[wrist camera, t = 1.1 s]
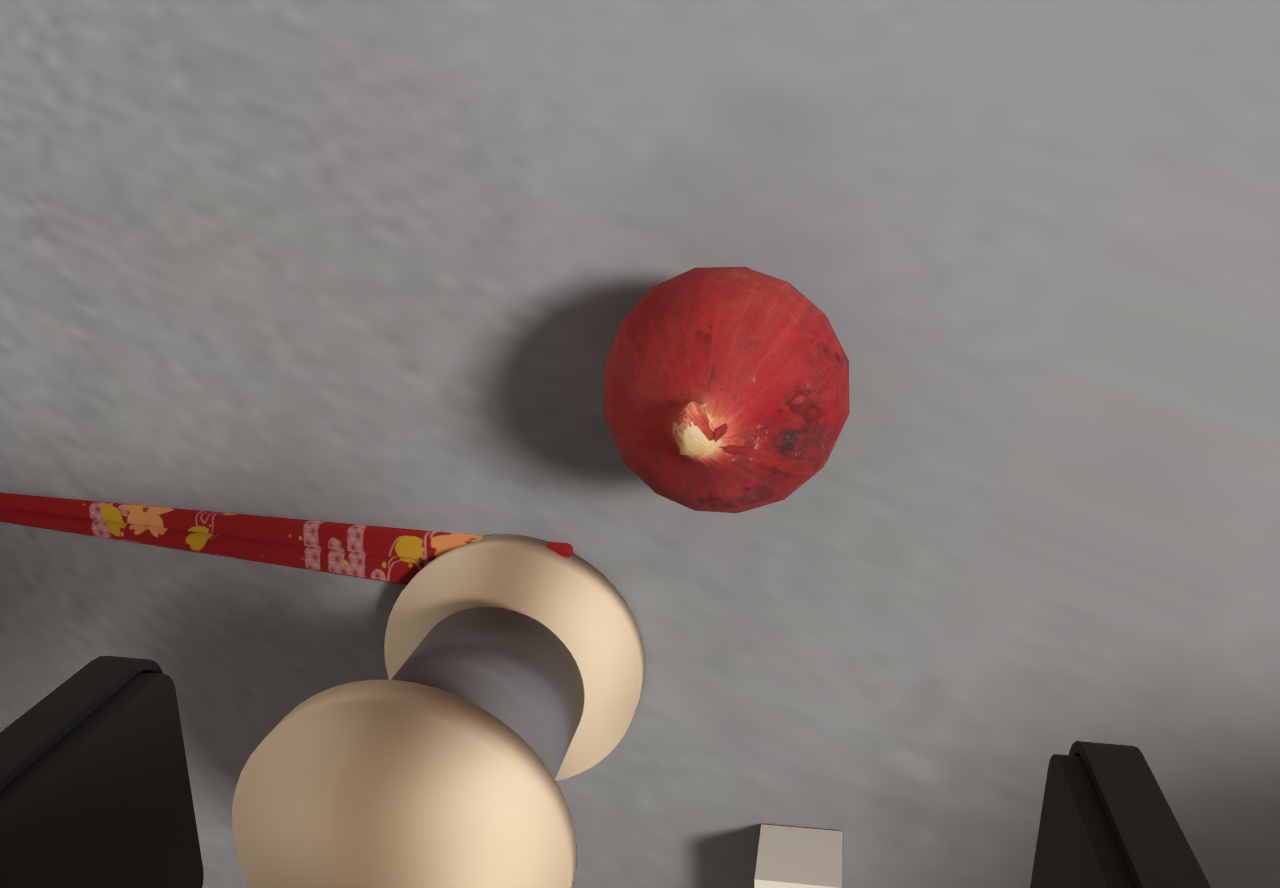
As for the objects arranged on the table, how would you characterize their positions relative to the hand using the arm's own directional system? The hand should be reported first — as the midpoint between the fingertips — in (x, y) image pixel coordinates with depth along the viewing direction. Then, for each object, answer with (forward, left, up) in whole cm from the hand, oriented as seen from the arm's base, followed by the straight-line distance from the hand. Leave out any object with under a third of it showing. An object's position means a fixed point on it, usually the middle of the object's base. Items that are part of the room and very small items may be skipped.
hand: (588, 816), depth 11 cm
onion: (0, -1, -19) cm, 19 cm away
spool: (+7, +9, -19) cm, 22 cm away
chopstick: (+17, +5, -19) cm, 27 cm away
